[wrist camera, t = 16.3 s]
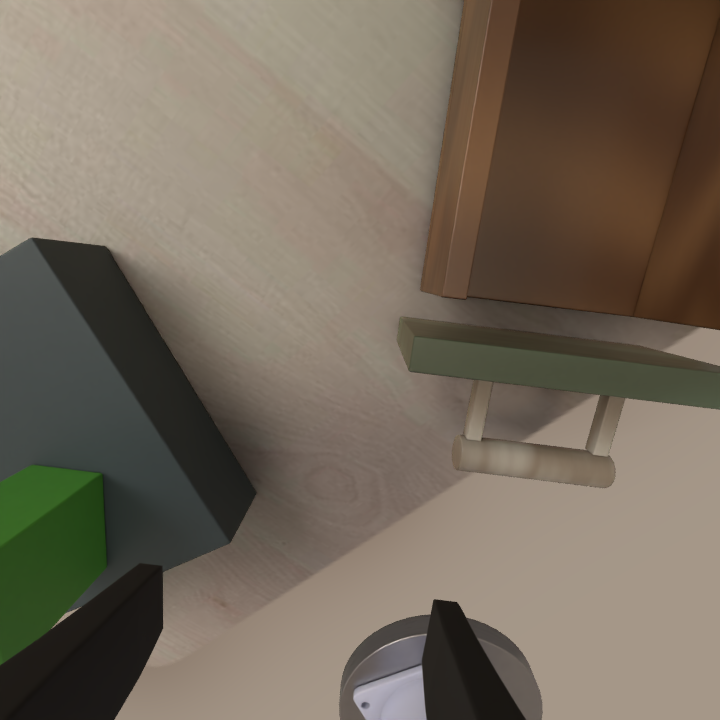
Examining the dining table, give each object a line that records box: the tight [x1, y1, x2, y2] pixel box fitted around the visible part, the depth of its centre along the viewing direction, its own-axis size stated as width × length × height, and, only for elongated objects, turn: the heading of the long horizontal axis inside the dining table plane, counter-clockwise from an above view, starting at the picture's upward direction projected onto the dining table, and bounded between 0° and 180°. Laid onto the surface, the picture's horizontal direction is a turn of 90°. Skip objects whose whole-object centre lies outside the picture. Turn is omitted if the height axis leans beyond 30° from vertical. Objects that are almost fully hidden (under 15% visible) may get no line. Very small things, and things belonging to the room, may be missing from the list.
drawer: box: [397, 0, 720, 488], centre depth 13 cm, size 23×11×6 cm, turn 173°
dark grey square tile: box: [0, 238, 256, 613], centre depth 18 cm, size 15×13×4 cm
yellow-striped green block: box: [0, 465, 107, 665], centre depth 14 cm, size 5×3×6 cm, turn 173°
